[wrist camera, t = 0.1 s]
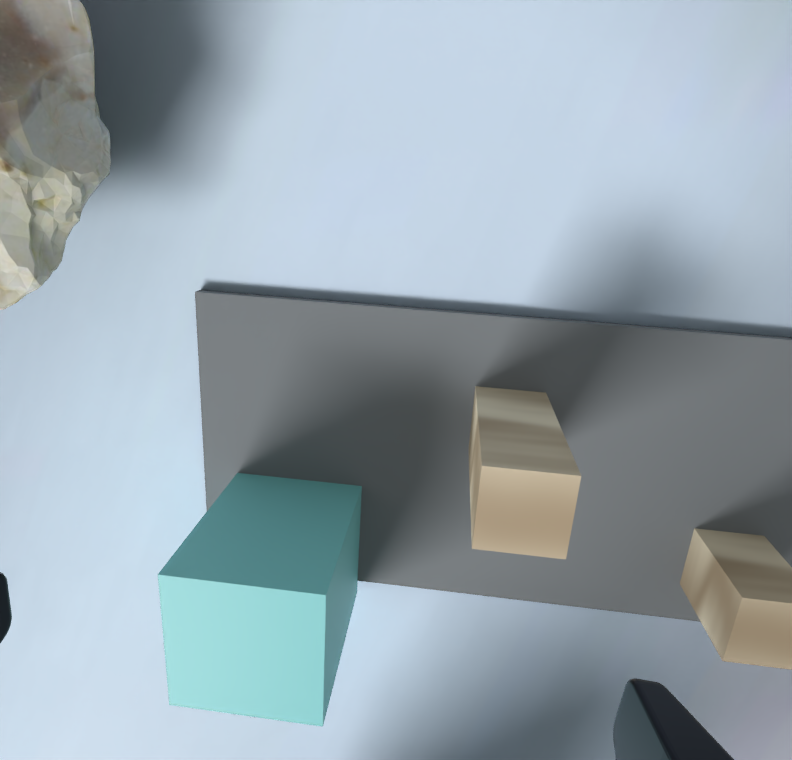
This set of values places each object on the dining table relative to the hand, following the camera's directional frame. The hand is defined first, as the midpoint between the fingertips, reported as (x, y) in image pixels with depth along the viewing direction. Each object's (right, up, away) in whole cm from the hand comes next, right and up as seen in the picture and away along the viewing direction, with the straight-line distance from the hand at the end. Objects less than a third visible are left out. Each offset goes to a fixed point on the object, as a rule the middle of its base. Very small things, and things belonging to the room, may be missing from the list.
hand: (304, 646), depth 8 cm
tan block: (+14, -3, +14) cm, 21 cm away
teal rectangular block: (-3, -3, +16) cm, 17 cm away
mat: (+6, 0, +15) cm, 16 cm away
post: (+5, +2, +14) cm, 15 cm away
